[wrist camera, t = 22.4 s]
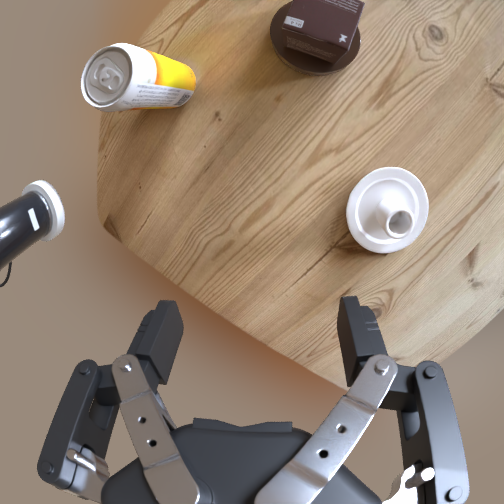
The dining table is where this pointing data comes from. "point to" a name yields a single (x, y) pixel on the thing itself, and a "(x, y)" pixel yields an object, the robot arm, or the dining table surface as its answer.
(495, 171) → the dining table surface
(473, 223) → the dining table surface
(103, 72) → the beer can
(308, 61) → the walnut coaster
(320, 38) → the box
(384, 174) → the candle holder
